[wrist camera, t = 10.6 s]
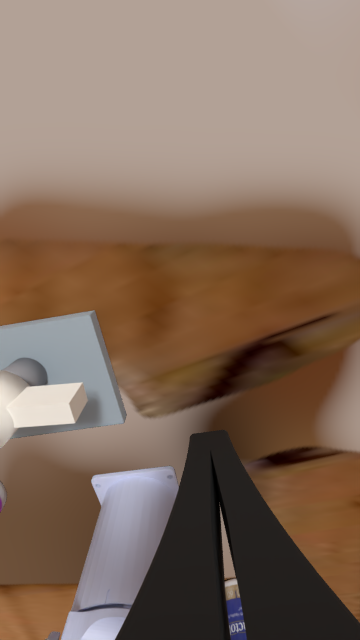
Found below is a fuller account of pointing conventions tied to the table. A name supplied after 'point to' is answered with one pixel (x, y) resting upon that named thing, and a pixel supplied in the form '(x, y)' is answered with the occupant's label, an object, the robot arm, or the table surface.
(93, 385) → the board
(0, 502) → the supplement bottle
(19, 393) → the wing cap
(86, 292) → the table surface
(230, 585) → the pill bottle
